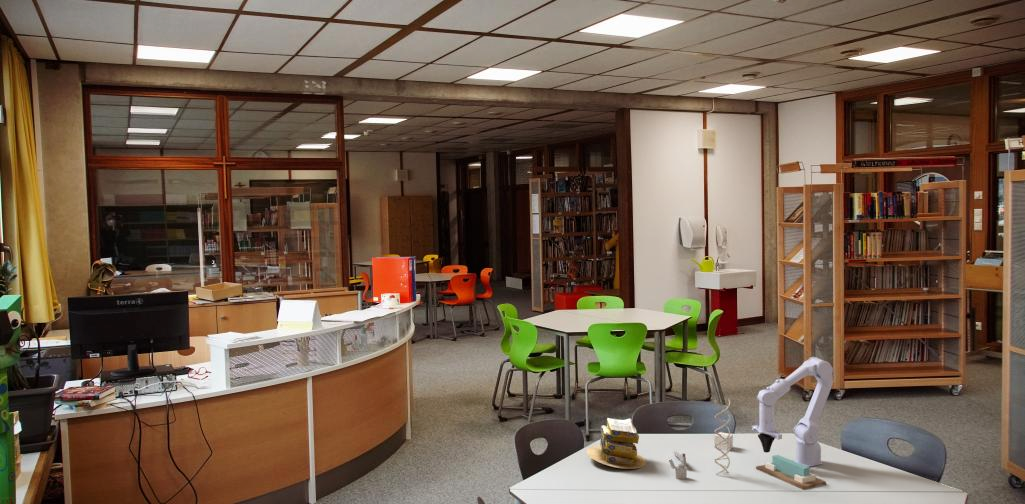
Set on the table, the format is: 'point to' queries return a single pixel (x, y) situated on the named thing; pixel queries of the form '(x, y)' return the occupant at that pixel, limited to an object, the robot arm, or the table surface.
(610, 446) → the stacked boxes on plate
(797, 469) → the slat
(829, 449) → the table surface
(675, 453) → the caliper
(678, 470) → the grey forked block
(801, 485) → the walnut board
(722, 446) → the beige cube
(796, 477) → the end caps
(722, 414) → the dna model
